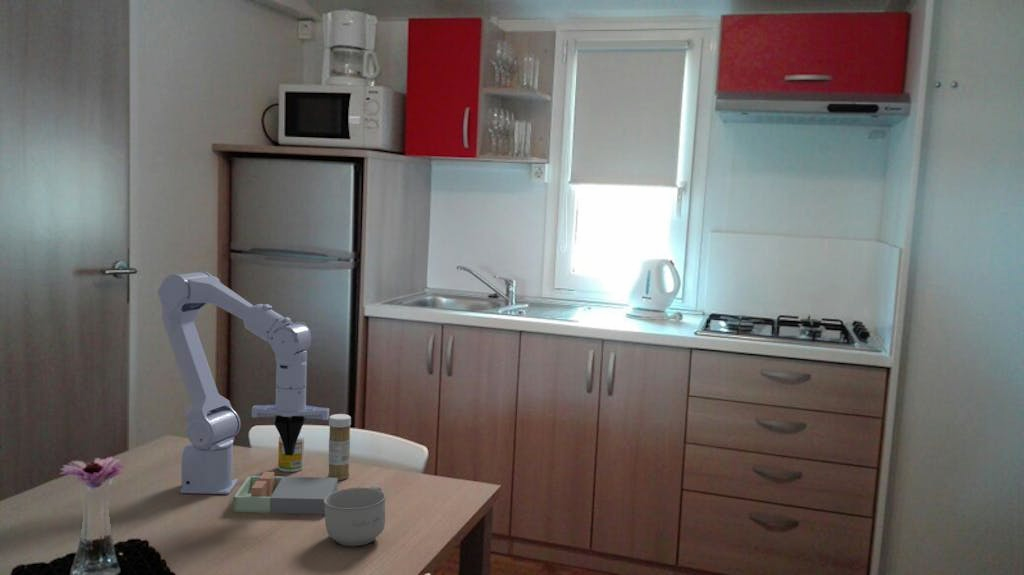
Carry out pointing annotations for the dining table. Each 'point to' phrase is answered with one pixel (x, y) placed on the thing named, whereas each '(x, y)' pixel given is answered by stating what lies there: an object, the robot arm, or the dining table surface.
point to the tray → (252, 498)
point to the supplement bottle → (294, 461)
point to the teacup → (355, 515)
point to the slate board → (302, 495)
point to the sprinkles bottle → (339, 446)
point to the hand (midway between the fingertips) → (289, 453)
